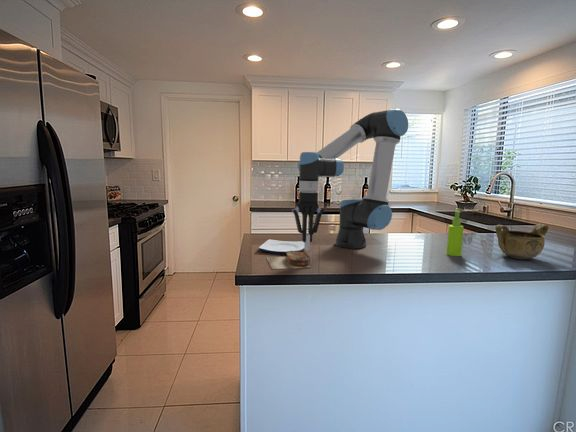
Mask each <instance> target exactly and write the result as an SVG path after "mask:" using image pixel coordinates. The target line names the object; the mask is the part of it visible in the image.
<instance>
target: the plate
mask: <svg viewBox="0 0 576 432" xmlns="http://www.w3.org/2000/svg"><path fill="white" fill-rule="evenodd" d="M258 250H259V251H262V252H265V253H270V254H276V255H278V254H279V255H286V252H288V251H303V250H305V249H304V242H303V241H302V240H301V241H299V240H298V241H287V240H286V241H285V240H276V239H267V240H266V241H265V242H263V244H261V245H260V246H259V247H258Z"/></svg>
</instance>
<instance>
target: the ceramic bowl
mask: <svg viewBox="0 0 576 432" xmlns="http://www.w3.org/2000/svg"><path fill="white" fill-rule="evenodd" d="M548 230H549V226H548V224H545V223H544V224H543V223H538V224H536V225H535V226H534V227H533V229H532V231H527V230H526V231H523V230H515V229H509V228H508V227H507V225H504V224H496V226H495V233H496V237H497V241H498V242H497V243H498V247H499V249H500V250H501V252H502V253H503V254H504V255H506V256H507V257H510V258H512V259H516V260H530V259H532V258H535V257H537V256H539V255H541V254H542V252H543V250H544V247H545V244H546V243H545V236H546V234H547V233H548Z"/></svg>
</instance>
